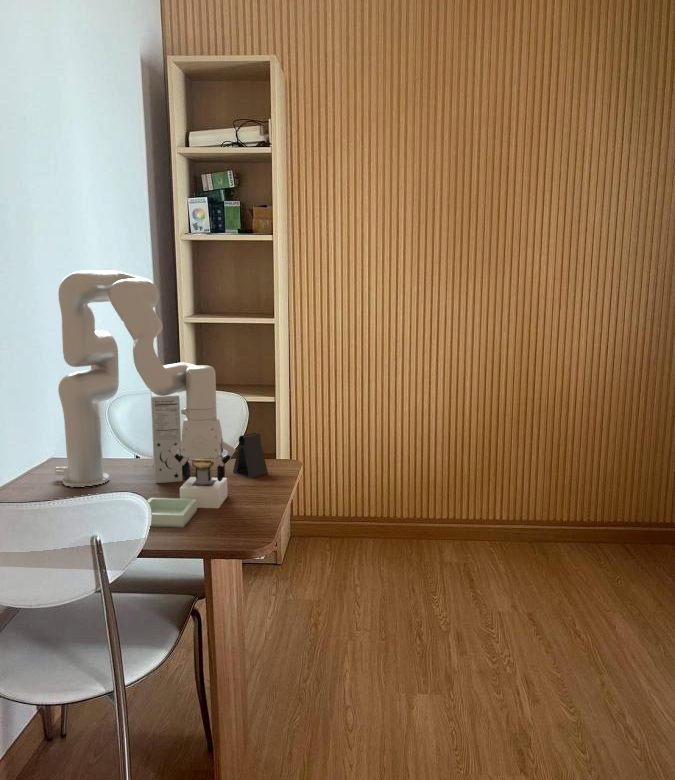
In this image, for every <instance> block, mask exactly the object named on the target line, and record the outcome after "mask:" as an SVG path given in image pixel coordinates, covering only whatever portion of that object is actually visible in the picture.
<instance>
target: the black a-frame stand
mask: <svg viewBox="0 0 675 780" xmlns="http://www.w3.org/2000/svg"><path fill="white" fill-rule="evenodd" d="M261 440H262V436H261V434H260V433H259V432H252V433H247V434H243V435H239V437H238V448H237V452H236V456H235V460H234V467H233V470H232V473H233V474H236V475H239V476H242V477H245V478H249V479H256V478H259V477H262V476H267V475H269V472H268V467H267V463H266V459H265V456H264V455H265V454H264V451H263V447H262V442H261Z"/></svg>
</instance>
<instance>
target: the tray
mask: <svg viewBox="0 0 675 780" xmlns="http://www.w3.org/2000/svg"><path fill="white" fill-rule="evenodd" d="M146 501H148V502H149V504H150V506H151V509H152V525H151V527H155V528H157V527H159V528H185V527H186V526H187V523H189V522H190V521H191V519H192V518H193V517H194V515H195V514H196V513H197V511H198V508H197V499H180V498H179V497H177V498H172V497H171V498H170V497H169V498H168V497H150V498H149V499H148V500H146ZM151 527H150V528H151Z"/></svg>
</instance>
